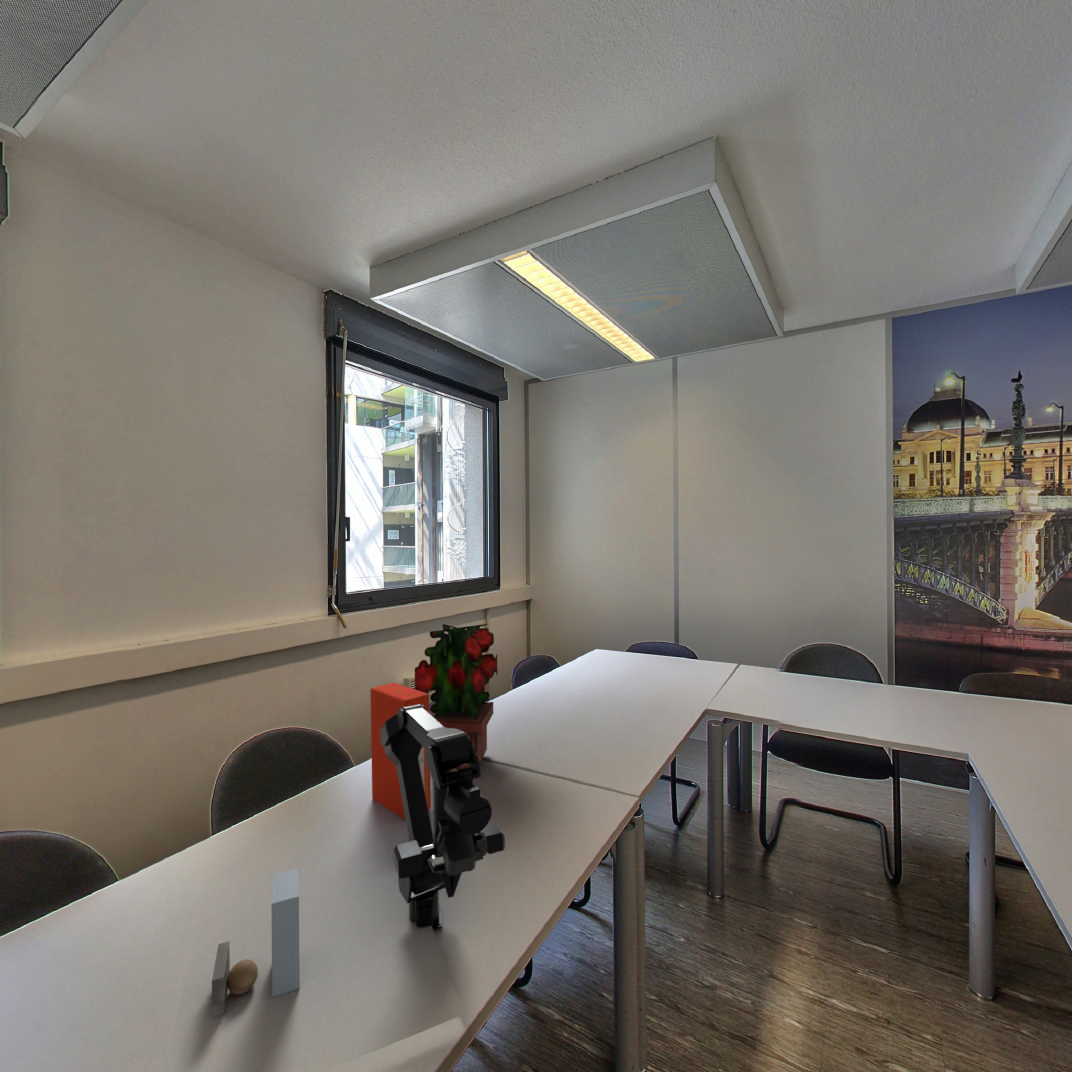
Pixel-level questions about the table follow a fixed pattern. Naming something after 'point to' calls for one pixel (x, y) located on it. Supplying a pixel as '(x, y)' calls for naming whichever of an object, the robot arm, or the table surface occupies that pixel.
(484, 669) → the potted plant
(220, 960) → the press bed
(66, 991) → the table surface
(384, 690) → the file binder
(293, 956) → the block
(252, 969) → the walnut
